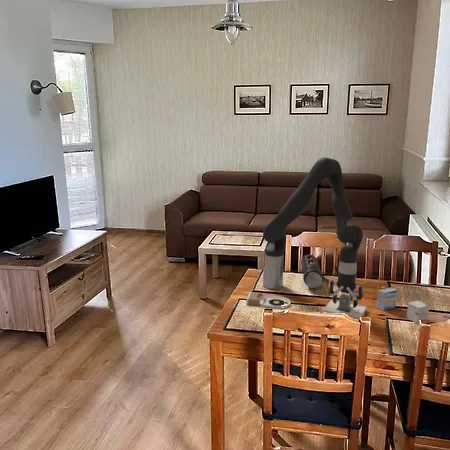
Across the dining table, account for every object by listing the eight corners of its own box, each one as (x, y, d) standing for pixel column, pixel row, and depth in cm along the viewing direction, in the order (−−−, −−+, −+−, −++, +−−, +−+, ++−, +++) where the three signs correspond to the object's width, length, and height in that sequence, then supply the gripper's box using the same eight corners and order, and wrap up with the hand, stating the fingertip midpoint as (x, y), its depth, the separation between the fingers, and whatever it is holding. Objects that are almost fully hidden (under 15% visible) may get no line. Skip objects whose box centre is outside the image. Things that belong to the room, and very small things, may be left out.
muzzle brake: (317, 271, 251) (318, 254, 248) (322, 291, 224) (324, 271, 221) (300, 271, 252) (300, 253, 249) (303, 290, 225) (304, 271, 222)
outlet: (321, 314, 198) (322, 310, 197) (331, 303, 210) (331, 298, 209) (358, 323, 190) (359, 318, 190) (366, 310, 202) (366, 306, 202)
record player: (250, 290, 218) (291, 294, 214) (250, 296, 219) (291, 300, 215) (246, 300, 207) (289, 304, 203) (245, 306, 208) (289, 310, 203)
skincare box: (406, 318, 195) (408, 302, 193) (416, 315, 198) (418, 300, 196) (417, 323, 190) (419, 307, 188) (427, 321, 192) (429, 305, 190)
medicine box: (383, 311, 202) (385, 293, 200) (375, 307, 206) (377, 289, 203) (396, 307, 205) (397, 290, 203) (388, 304, 209) (390, 286, 207)
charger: (338, 313, 199) (339, 297, 197) (341, 310, 203) (342, 293, 201) (347, 315, 197) (348, 298, 195) (349, 312, 201) (351, 295, 199)
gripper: (328, 270, 195) (326, 304, 199) (361, 276, 189) (359, 311, 193) (333, 265, 202) (331, 298, 206) (366, 270, 195) (363, 305, 199)
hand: (344, 305), depth 199 cm, fingers open, 8 cm apart
